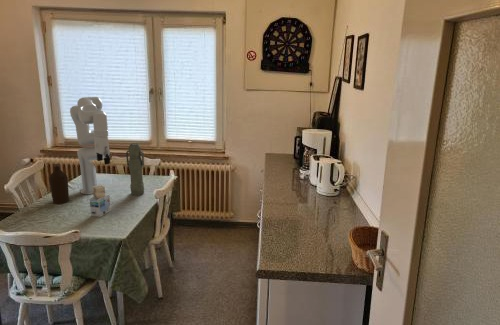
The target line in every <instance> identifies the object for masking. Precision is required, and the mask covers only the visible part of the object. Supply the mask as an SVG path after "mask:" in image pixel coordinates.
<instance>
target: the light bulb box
mask: <svg viewBox="0 0 500 325" xmlns="http://www.w3.org/2000/svg"><path fill="white" fill-rule="evenodd" d="M89 207H90V208H89V209H90V215H91V217H96V218H97V217H99V218H102V217H103V216H105V215H106V214H108V213H109V212H111V210H112V209H111V198H110V194H109V193H105V197H101V198H95V197H94V196H92V197H91V198H89Z"/></svg>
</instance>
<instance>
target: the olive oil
mask: <svg viewBox="0 0 500 325" xmlns="http://www.w3.org/2000/svg"><path fill="white" fill-rule="evenodd" d="M68 179H69V178H68V175H67V174H66V173H65V172H64V171H62V170H61V166H60V163H55V164H53V172H52V173H51V174H50V175H49V177H48V183H49V187H50V192H51V198H52V203H53V204H54V205H62V204H66V203H68V202H69V201H70V195H69V182H68V181H69V180H68Z"/></svg>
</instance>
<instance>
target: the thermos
mask: <svg viewBox="0 0 500 325" xmlns="http://www.w3.org/2000/svg"><path fill="white" fill-rule="evenodd" d="M125 155H126V158H125V160H126V165H127V166H128V170H129V171H130V172H129V173H130V194H131V196H142V195H144V194H145V185H144V184H145V183H144V179H143V166H145V153H144V151H142V149H141V146H140V144H139V143H136V142H135V143H134V142H133V143H130V144H129V146H128V150H127V151H126V152H125Z"/></svg>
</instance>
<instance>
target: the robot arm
mask: <svg viewBox="0 0 500 325" xmlns="http://www.w3.org/2000/svg"><path fill="white" fill-rule="evenodd" d="M69 113H70V117H71V120H72V121H73V123H74V125H75V131H76V137H77V142H78V144H79V145H80V146H85V147H81V148H79V149H78V150H77V153H76V154H77V158H78V162H79V166H80V167H79V168H80V177H81V185H82V187H81V188H82V189H81V190H80V193H81V194H82V195H93V187H94V186H98V180H97V179H98V178H97V169H96V166H95V164H94V163H93V162H92V161H97V162H101V161H104V162H103V163H104V165H110V164H111V150H110V144H109V143H110V142H109V130H108V129H109V128H108V116H107V113H106V112H105V111H104V110H103V102H102V99H101V98H100V97H98V96H84V97H81V98H79V99H78V100H77V104H76V105H73V106H71V107H70V109H69ZM90 125H93V129H92V130H91V128H90ZM89 145H90V146H89ZM91 145H94V146H91Z"/></svg>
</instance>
